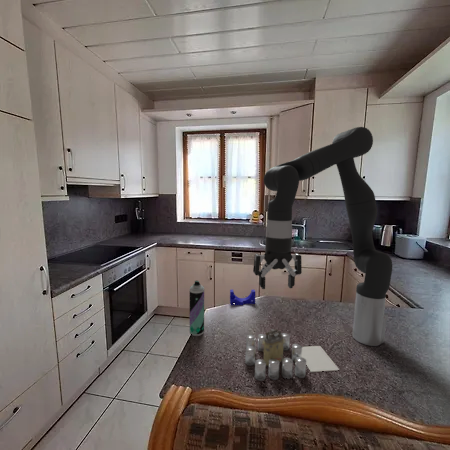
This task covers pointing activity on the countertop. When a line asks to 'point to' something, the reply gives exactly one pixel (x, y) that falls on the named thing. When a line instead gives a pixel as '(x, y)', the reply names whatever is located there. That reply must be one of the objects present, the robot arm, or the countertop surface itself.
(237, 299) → the cable clip
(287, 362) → the spacers
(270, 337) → the cream metal oval canister
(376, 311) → the robot arm
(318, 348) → the tile
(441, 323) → the countertop surface
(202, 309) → the spray can
